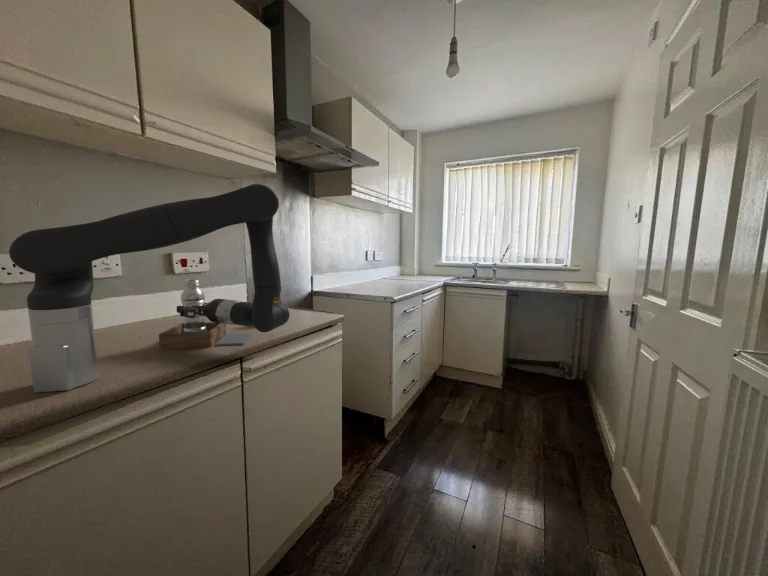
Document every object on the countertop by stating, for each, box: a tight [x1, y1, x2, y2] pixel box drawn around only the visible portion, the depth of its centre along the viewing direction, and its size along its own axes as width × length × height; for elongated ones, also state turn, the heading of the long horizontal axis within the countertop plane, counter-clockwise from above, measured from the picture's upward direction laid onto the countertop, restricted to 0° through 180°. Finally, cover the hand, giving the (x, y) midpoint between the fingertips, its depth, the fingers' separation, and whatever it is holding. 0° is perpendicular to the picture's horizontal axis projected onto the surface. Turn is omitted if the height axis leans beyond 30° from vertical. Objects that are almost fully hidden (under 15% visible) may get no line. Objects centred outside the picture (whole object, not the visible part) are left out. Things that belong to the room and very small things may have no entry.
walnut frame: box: [158, 321, 227, 350], centre depth 96 cm, size 14×14×4 cm
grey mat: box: [215, 332, 253, 347], centre depth 99 cm, size 12×8×1 cm, turn 11°
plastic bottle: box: [180, 279, 207, 333], centre depth 95 cm, size 6×7×20 cm
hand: (188, 307), depth 96 cm, fingers closed on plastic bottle, 6 cm apart
